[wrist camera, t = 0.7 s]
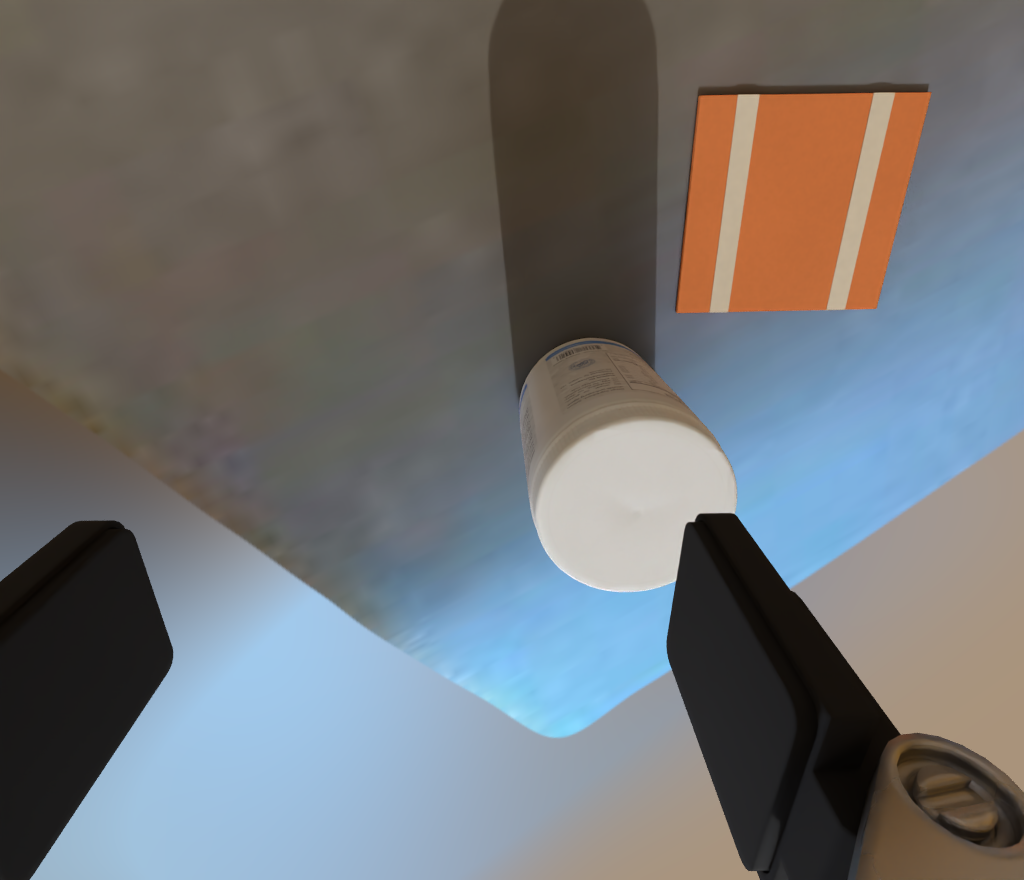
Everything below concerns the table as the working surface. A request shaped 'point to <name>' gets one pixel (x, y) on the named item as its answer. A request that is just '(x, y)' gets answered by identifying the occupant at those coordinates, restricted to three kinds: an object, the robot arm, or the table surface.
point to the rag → (795, 199)
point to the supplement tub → (615, 466)
